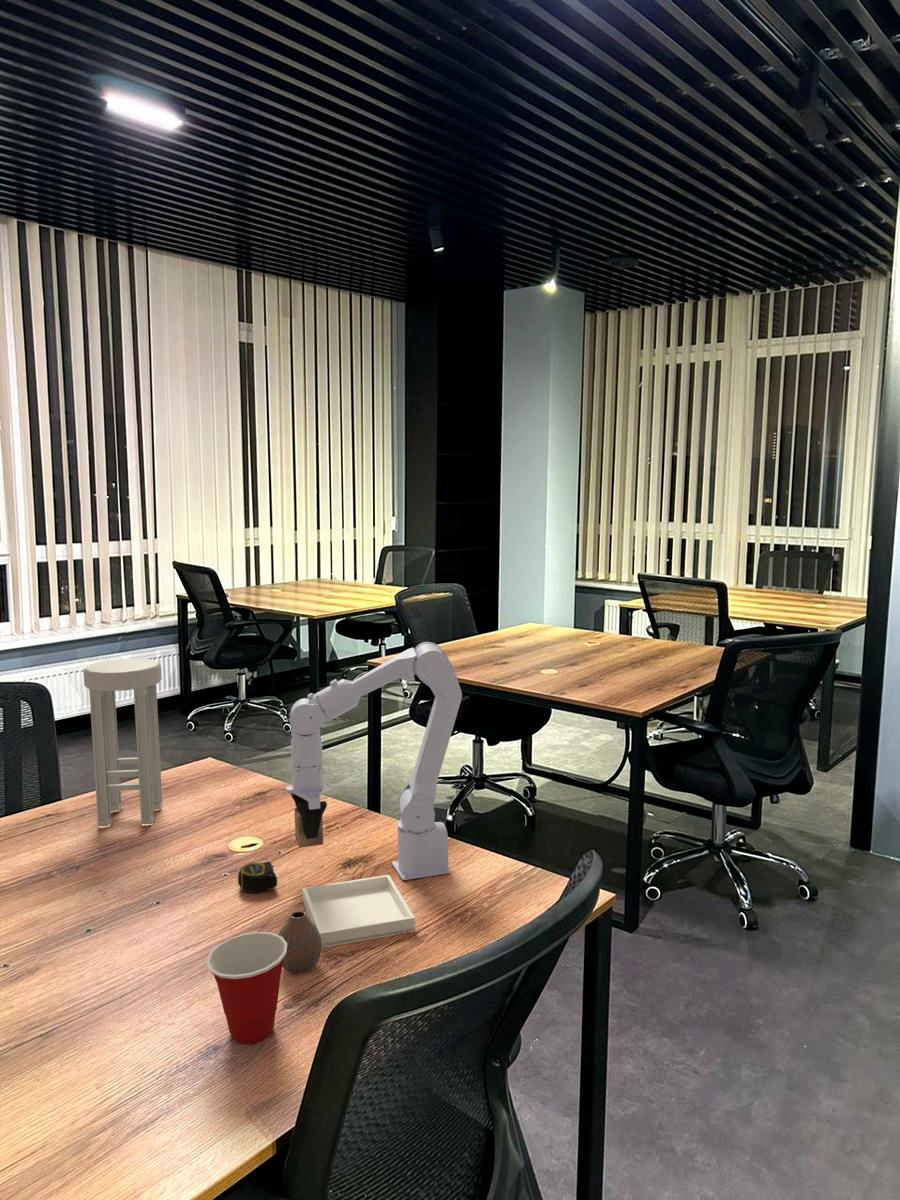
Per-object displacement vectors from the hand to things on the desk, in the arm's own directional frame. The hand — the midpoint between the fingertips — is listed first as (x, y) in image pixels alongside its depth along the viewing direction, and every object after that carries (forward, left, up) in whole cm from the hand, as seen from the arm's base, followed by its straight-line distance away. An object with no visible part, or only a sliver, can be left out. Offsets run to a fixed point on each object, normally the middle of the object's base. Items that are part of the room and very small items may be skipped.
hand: (309, 832), depth 167 cm
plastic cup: (+16, +45, -9) cm, 49 cm away
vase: (+7, +31, -9) cm, 33 cm away
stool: (+33, -43, -9) cm, 55 cm away
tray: (-5, +18, -9) cm, 21 cm away
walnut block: (0, 0, -2) cm, 2 cm away
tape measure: (+9, +1, -9) cm, 13 cm away
